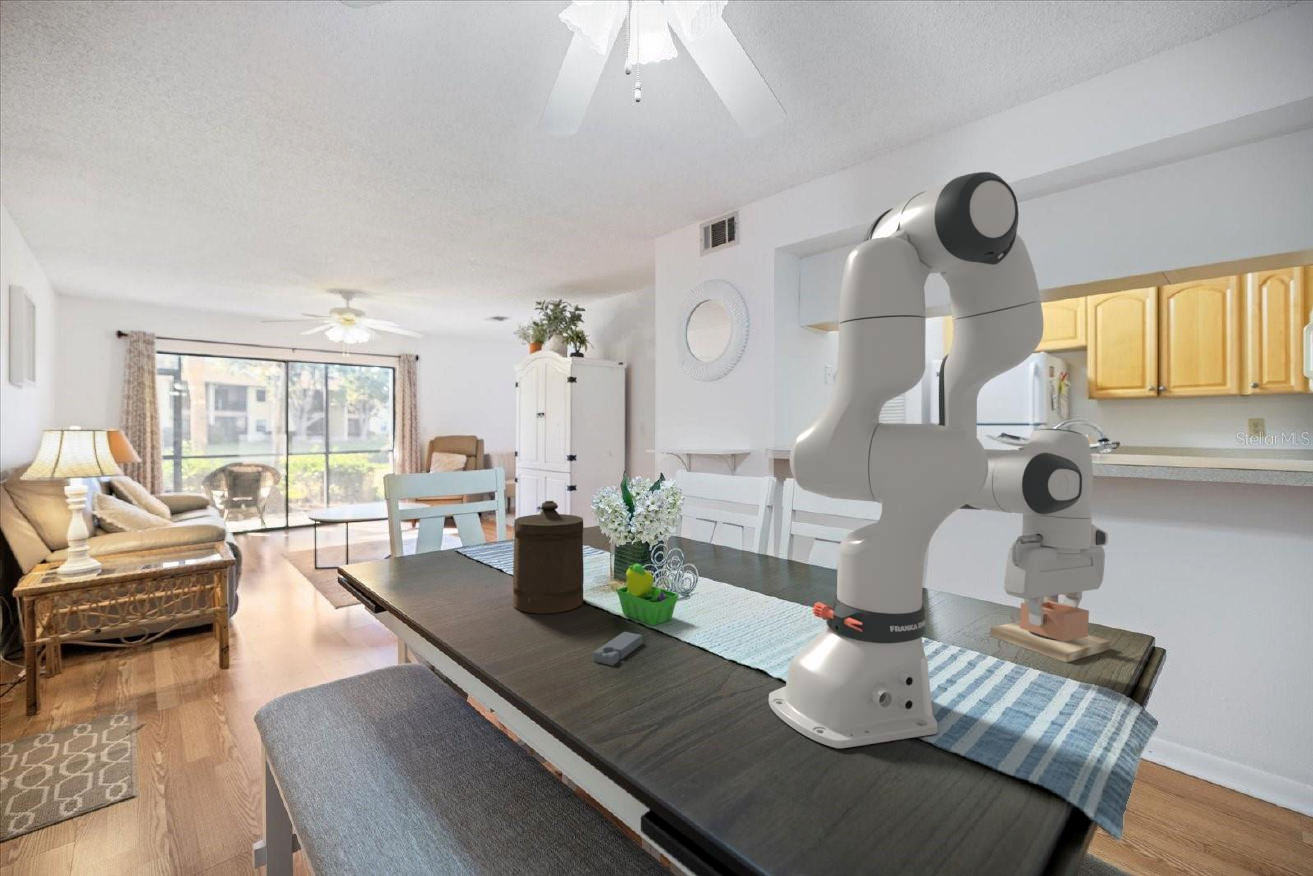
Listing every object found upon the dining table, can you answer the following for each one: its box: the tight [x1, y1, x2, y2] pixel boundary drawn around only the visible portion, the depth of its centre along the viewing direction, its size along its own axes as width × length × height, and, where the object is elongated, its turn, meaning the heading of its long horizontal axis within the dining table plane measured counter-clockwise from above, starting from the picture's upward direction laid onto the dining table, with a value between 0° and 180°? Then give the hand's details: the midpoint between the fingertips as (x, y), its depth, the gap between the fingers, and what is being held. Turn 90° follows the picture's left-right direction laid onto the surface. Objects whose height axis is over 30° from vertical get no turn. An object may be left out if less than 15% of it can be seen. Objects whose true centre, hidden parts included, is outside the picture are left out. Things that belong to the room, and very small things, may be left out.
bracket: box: [592, 631, 643, 666], centre depth 97 cm, size 4×10×2 cm, turn 154°
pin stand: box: [989, 595, 1111, 663], centre depth 102 cm, size 13×13×10 cm
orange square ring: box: [1019, 599, 1090, 642], centre depth 89 cm, size 6×6×4 cm
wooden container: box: [512, 500, 585, 615], centre depth 122 cm, size 15×15×22 cm
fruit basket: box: [616, 563, 680, 626], centre depth 114 cm, size 11×9×11 cm
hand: (1052, 621), depth 89 cm, fingers closed on orange square ring, 6 cm apart
